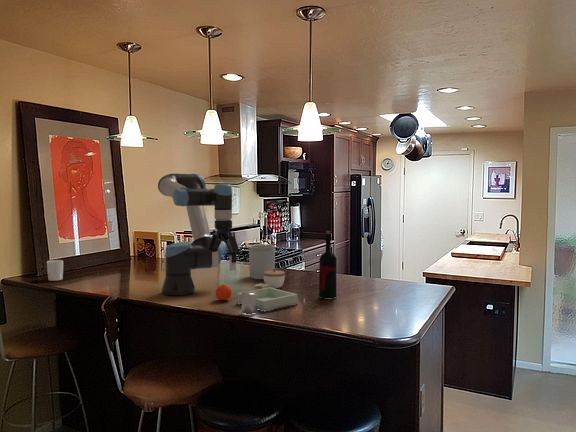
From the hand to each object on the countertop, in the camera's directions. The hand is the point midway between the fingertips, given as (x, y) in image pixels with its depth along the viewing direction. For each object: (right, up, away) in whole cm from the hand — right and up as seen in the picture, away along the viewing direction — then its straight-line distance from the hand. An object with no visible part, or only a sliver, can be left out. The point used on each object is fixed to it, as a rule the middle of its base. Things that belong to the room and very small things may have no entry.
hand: (223, 268), depth 198 cm
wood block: (+16, -14, +10) cm, 23 cm away
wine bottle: (+45, -14, +6) cm, 48 cm away
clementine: (0, -14, +1) cm, 14 cm away
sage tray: (+19, -15, -6) cm, 25 cm away
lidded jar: (+21, -13, +27) cm, 36 cm away
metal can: (+13, -16, -19) cm, 28 cm away
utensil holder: (+13, -11, +53) cm, 56 cm away
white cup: (-96, -11, +44) cm, 106 cm away
